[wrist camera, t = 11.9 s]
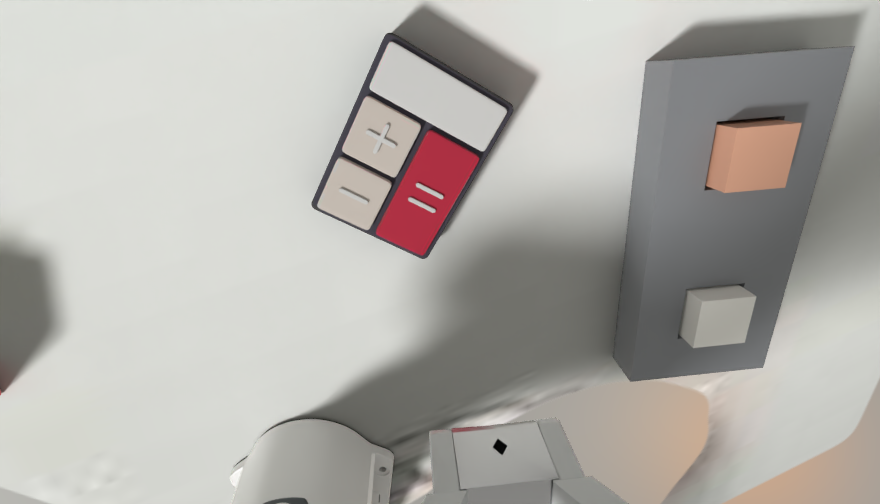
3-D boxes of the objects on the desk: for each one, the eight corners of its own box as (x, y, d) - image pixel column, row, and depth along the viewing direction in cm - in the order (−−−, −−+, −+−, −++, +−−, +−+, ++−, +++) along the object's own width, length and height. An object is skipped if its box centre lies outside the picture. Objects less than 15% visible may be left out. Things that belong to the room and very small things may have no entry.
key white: (716, 319, 44) (744, 342, 40) (668, 324, 44) (692, 348, 40) (725, 276, 42) (756, 296, 38) (676, 281, 42) (702, 301, 38)
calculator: (307, 210, 35) (386, 29, 29) (318, 194, 39) (390, 31, 33) (425, 265, 38) (518, 108, 32) (425, 244, 41) (507, 101, 36)
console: (735, 344, 48) (763, 367, 44) (613, 357, 47) (630, 381, 44) (808, 48, 36) (854, 46, 32) (645, 61, 35) (673, 60, 32)
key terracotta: (748, 176, 38) (785, 187, 34) (693, 180, 38) (724, 193, 34) (761, 117, 36) (801, 122, 32) (703, 122, 36) (737, 128, 32)
